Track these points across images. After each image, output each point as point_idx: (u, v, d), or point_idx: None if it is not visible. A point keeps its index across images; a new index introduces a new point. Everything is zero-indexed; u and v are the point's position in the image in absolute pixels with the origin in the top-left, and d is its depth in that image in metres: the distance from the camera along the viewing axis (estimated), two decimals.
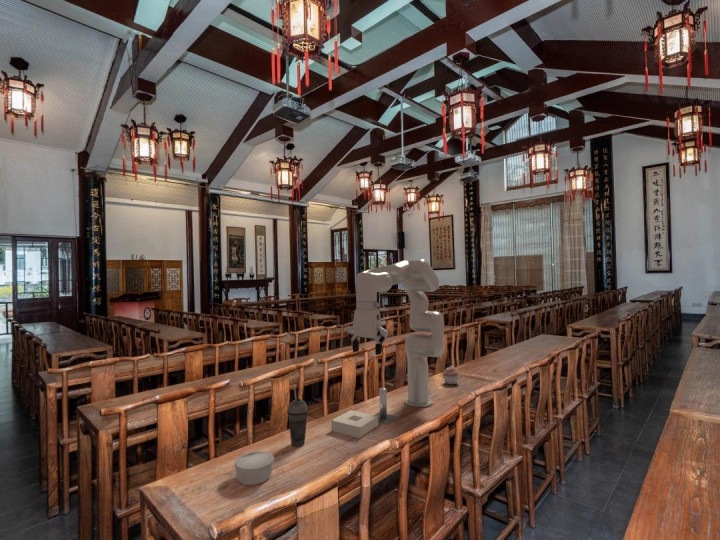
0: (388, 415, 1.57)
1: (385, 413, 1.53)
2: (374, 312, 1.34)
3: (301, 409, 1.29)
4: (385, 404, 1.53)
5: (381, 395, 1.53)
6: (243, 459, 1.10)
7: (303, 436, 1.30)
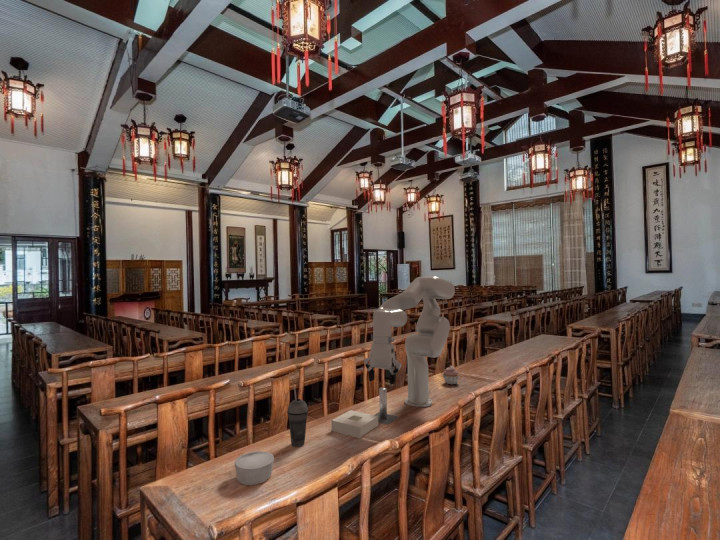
0: (388, 415, 1.57)
1: (385, 413, 1.53)
2: (389, 346, 1.51)
3: (301, 409, 1.29)
4: (385, 404, 1.53)
5: (381, 395, 1.53)
6: (243, 459, 1.10)
7: (303, 436, 1.30)
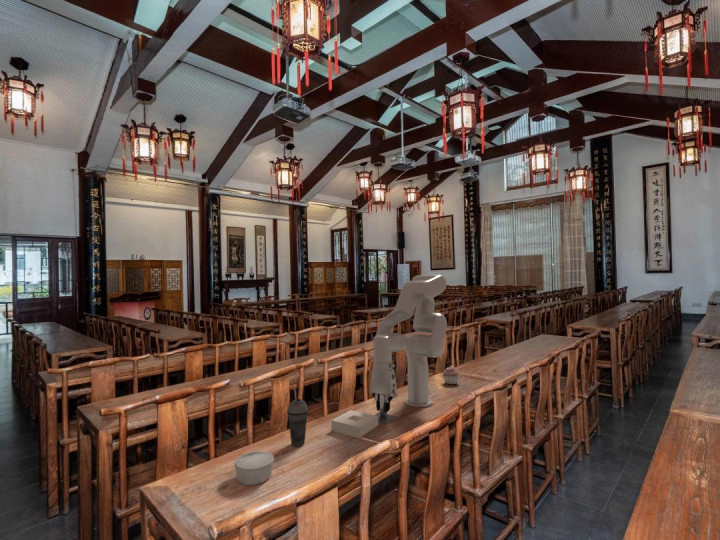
0: (388, 415, 1.57)
1: (385, 413, 1.53)
2: (390, 372, 1.51)
3: (301, 409, 1.29)
4: None
5: (381, 395, 1.53)
6: (243, 459, 1.10)
7: (303, 436, 1.30)
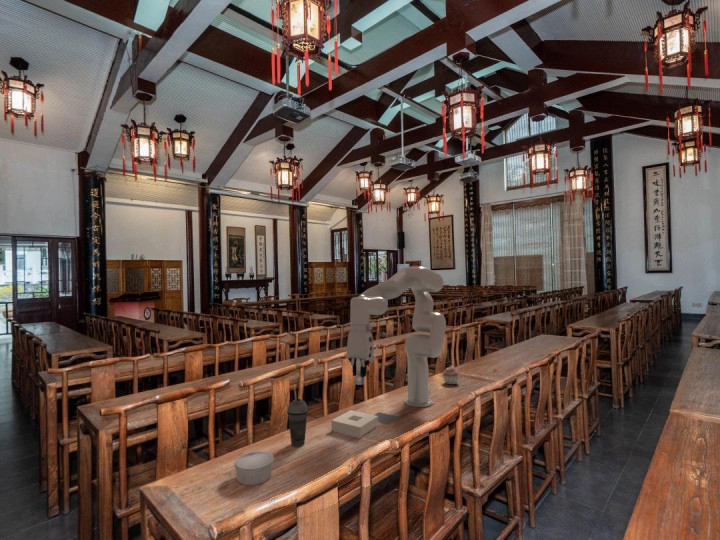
0: (388, 415, 1.57)
1: (361, 378, 1.46)
2: (367, 335, 1.44)
3: (301, 409, 1.29)
4: None
5: (357, 359, 1.46)
6: (243, 459, 1.10)
7: (303, 436, 1.30)
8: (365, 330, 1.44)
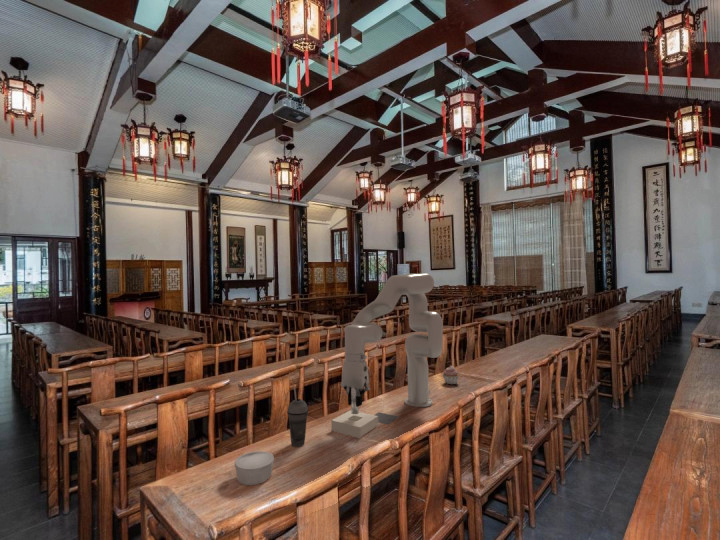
0: (388, 415, 1.57)
1: (357, 407, 1.44)
2: (361, 364, 1.42)
3: (301, 409, 1.29)
4: None
5: (352, 388, 1.44)
6: (243, 459, 1.10)
7: (303, 436, 1.30)
8: (360, 359, 1.42)
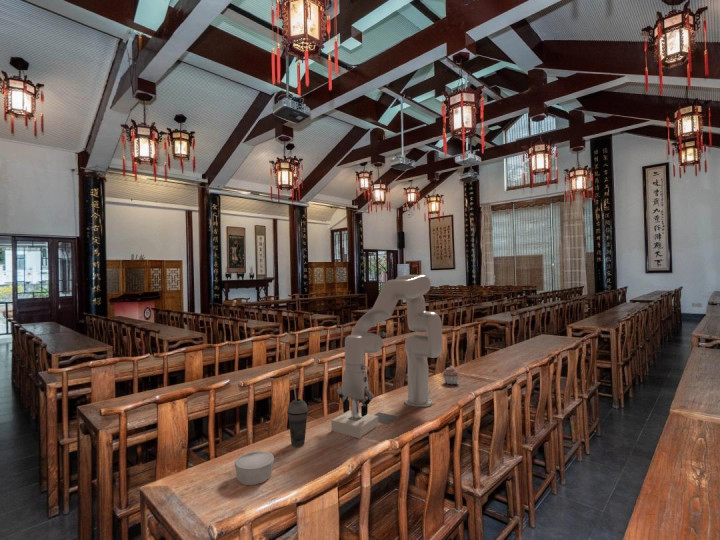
0: (388, 415, 1.57)
1: None
2: (361, 375, 1.42)
3: (301, 409, 1.29)
4: (357, 414, 1.44)
5: (353, 404, 1.44)
6: (243, 459, 1.10)
7: (303, 436, 1.30)
8: (360, 370, 1.42)
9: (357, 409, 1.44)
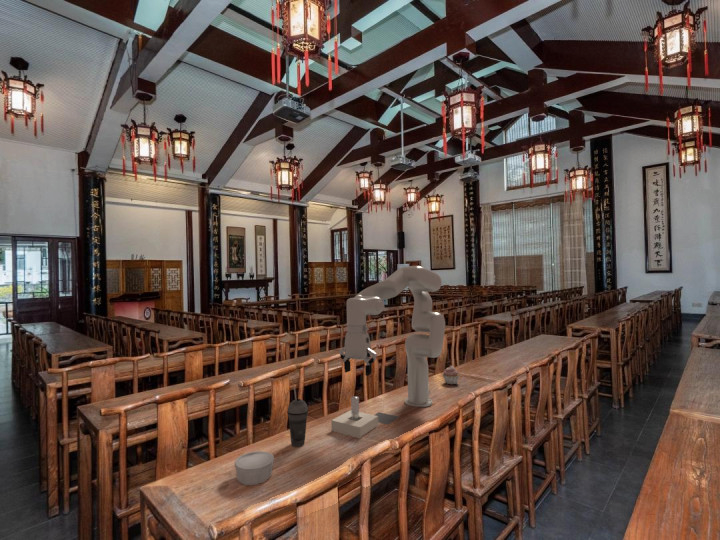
0: (388, 415, 1.57)
1: None
2: (364, 336, 1.43)
3: (301, 409, 1.29)
4: (357, 414, 1.44)
5: (353, 404, 1.44)
6: (243, 459, 1.10)
7: (303, 436, 1.30)
8: (362, 331, 1.44)
9: (357, 409, 1.44)
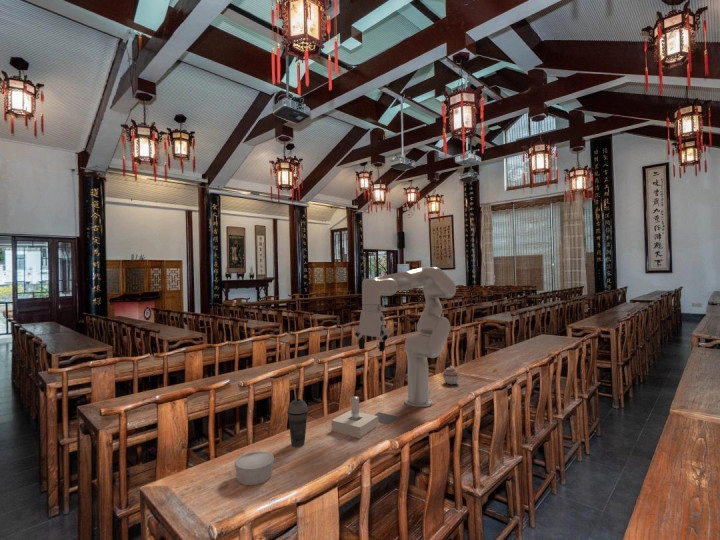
0: (388, 415, 1.57)
1: None
2: (378, 314, 1.52)
3: (301, 409, 1.29)
4: (357, 414, 1.44)
5: (353, 404, 1.44)
6: (243, 459, 1.10)
7: (303, 436, 1.30)
8: (376, 309, 1.53)
9: (357, 409, 1.44)
